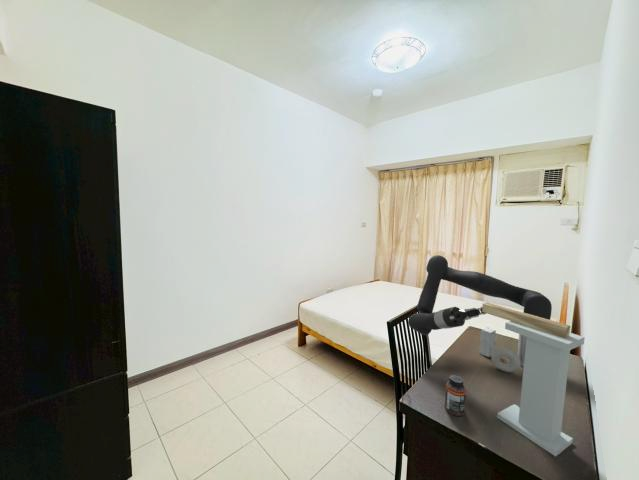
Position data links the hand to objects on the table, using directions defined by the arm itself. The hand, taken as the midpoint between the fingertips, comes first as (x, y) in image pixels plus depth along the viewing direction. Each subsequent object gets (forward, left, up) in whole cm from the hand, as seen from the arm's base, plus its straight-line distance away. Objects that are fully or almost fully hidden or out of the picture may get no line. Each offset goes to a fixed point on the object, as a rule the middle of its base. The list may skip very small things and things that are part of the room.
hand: (485, 310), depth 90 cm
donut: (-26, -5, -32) cm, 42 cm away
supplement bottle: (+15, +1, -32) cm, 36 cm away
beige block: (0, +11, 0) cm, 11 cm away
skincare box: (-34, -17, -32) cm, 50 cm away
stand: (0, +17, -32) cm, 36 cm away
